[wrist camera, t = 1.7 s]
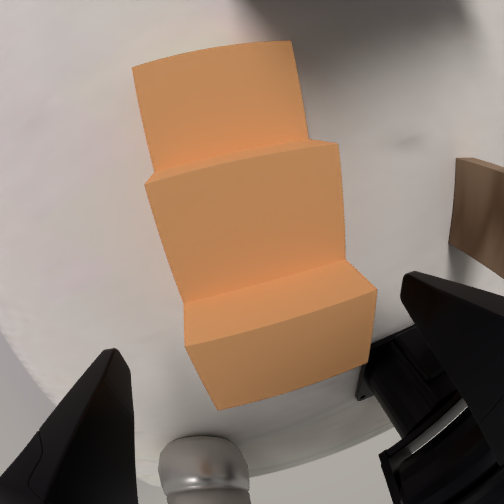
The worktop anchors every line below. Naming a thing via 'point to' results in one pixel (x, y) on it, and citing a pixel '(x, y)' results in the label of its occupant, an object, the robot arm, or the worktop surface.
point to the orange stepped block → (251, 223)
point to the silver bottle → (203, 472)
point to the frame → (479, 212)
